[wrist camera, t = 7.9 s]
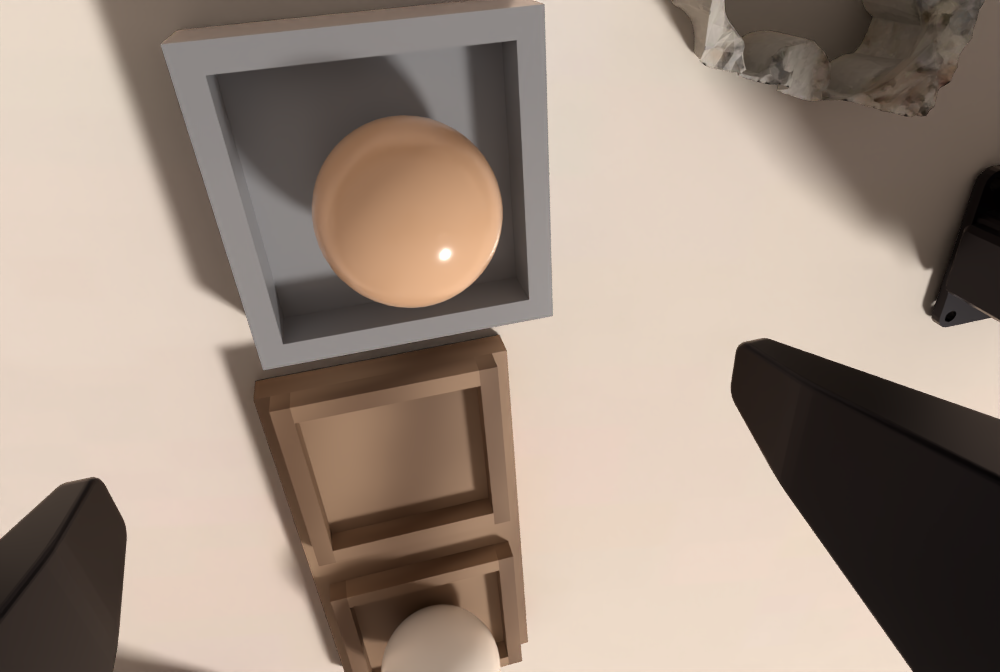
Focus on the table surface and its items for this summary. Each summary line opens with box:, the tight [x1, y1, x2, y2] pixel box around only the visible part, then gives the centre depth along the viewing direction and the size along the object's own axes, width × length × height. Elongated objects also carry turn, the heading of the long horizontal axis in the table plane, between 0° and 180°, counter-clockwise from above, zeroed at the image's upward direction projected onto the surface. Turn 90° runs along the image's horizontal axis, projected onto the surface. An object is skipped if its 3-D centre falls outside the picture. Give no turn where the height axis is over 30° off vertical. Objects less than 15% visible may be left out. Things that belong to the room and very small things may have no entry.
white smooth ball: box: [381, 604, 500, 672], centre depth 26 cm, size 5×5×5 cm
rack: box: [254, 335, 528, 672], centre depth 26 cm, size 8×16×2 cm, turn 4°
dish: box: [160, 0, 553, 370], centre depth 18 cm, size 8×8×2 cm
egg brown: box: [312, 115, 503, 308], centre depth 16 cm, size 5×5×5 cm
